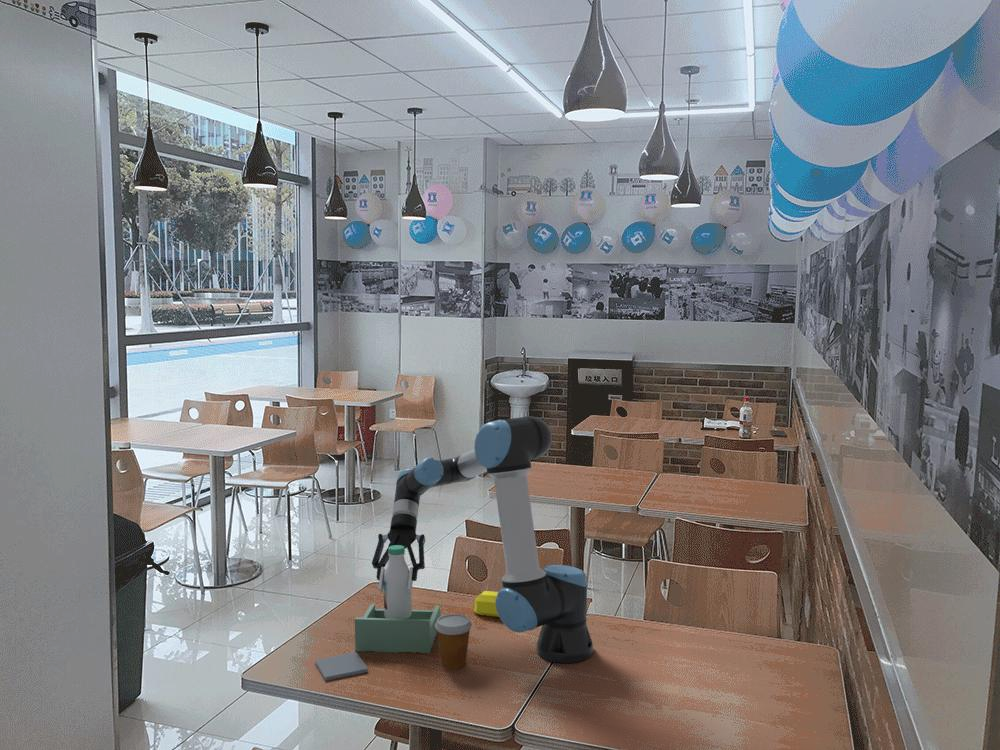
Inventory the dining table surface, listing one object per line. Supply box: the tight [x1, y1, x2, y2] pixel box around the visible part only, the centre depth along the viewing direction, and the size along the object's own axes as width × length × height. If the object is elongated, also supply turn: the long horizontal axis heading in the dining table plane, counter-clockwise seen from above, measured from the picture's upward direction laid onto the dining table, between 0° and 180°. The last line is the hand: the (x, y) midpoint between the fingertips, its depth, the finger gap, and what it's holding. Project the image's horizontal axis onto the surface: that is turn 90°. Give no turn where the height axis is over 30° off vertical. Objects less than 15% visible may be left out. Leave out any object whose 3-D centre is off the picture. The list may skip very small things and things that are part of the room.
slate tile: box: [314, 651, 369, 682], centre depth 216 cm, size 11×11×1 cm
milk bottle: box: [383, 545, 413, 619], centre depth 234 cm, size 8×8×20 cm
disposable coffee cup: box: [435, 613, 472, 670], centre depth 217 cm, size 10×10×12 cm
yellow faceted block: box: [472, 590, 500, 618], centre depth 251 cm, size 18×7×8 cm
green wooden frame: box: [354, 603, 442, 654], centre depth 235 cm, size 20×20×9 cm
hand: (394, 590), depth 231 cm, fingers closed on milk bottle, 7 cm apart
